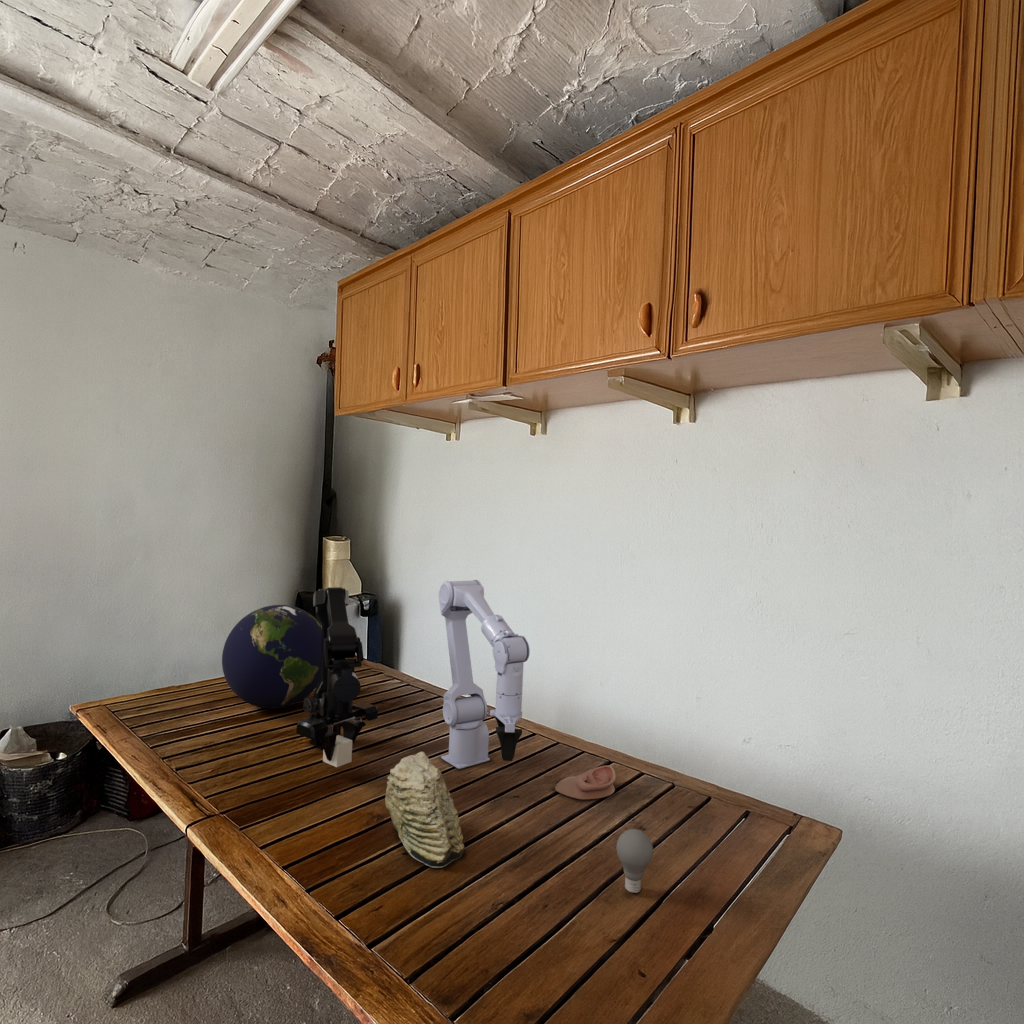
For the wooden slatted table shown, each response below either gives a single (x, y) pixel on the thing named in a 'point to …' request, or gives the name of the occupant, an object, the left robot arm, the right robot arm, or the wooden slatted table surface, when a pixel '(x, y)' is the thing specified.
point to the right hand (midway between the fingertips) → (506, 753)
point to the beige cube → (340, 752)
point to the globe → (273, 656)
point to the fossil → (424, 812)
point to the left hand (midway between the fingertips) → (337, 757)
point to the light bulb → (634, 857)
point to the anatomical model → (589, 784)
